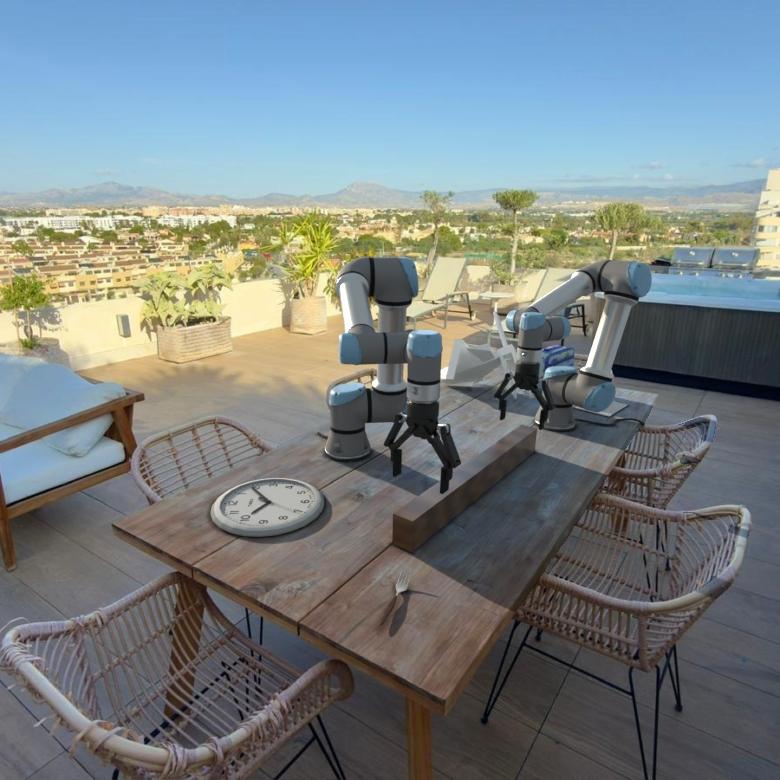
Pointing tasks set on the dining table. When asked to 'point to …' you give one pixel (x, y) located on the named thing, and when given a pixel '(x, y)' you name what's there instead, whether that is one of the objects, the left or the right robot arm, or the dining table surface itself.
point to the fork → (400, 588)
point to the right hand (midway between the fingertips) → (521, 423)
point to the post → (460, 489)
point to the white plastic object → (478, 360)
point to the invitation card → (608, 409)
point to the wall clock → (267, 507)
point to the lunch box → (555, 359)
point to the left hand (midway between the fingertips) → (419, 483)
